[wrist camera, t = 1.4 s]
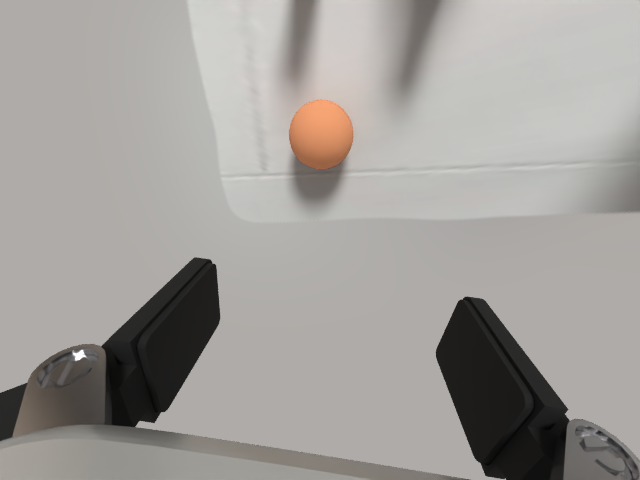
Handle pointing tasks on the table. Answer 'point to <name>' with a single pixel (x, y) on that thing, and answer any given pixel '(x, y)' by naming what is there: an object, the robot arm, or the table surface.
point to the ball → (321, 134)
